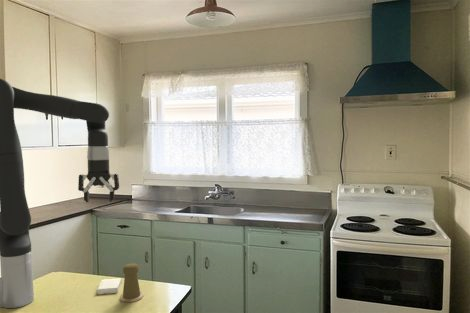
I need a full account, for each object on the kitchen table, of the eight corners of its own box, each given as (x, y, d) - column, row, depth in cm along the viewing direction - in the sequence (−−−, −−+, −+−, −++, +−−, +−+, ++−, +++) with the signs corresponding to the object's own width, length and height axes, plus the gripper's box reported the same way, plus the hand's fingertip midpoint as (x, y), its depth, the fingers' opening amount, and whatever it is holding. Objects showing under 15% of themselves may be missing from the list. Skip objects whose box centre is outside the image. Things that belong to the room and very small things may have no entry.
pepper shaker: (135, 299, 126) (134, 268, 125) (119, 298, 127) (118, 267, 126) (143, 292, 132) (142, 262, 131) (127, 291, 133) (126, 261, 132)
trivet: (118, 303, 125) (118, 301, 125) (121, 293, 133) (121, 291, 133) (142, 301, 126) (142, 299, 126) (144, 291, 134) (144, 289, 134)
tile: (97, 289, 132) (102, 279, 141) (97, 295, 132) (102, 285, 141) (117, 287, 133) (121, 278, 142) (117, 293, 133) (121, 283, 142)
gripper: (119, 157, 143) (120, 199, 143) (81, 158, 141) (82, 200, 141) (116, 158, 135) (117, 202, 136) (75, 159, 133) (76, 204, 134)
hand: (99, 201), depth 139 cm, fingers open, 8 cm apart
